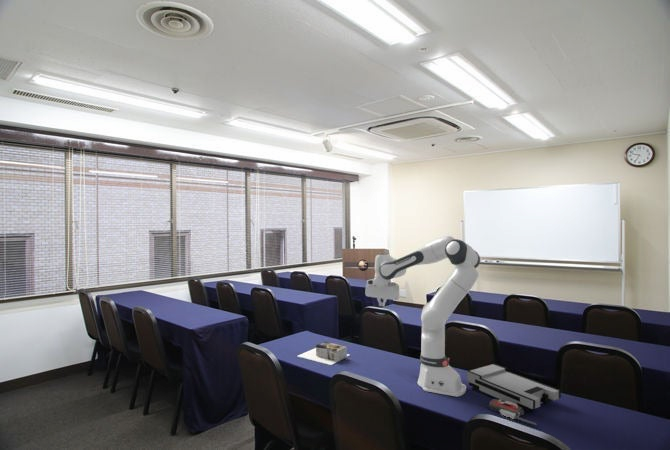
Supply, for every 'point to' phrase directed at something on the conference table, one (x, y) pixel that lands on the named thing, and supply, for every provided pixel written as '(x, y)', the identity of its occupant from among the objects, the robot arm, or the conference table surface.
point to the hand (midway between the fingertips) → (381, 306)
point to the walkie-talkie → (508, 409)
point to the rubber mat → (317, 357)
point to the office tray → (511, 387)
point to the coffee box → (331, 351)
